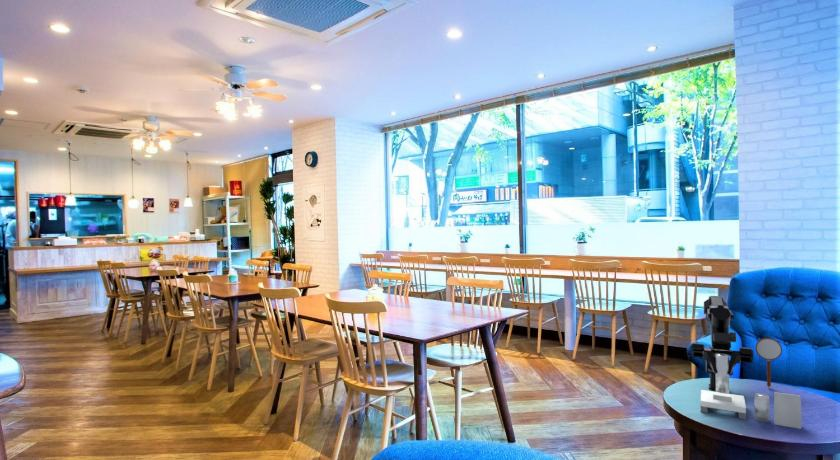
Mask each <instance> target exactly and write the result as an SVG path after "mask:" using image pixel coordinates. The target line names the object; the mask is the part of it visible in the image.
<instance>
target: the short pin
mask: <svg viewBox="0 0 840 460" xmlns="http://www.w3.org/2000/svg"><path fill="white" fill-rule="evenodd" d="M753 395H754V398H753V399H754V419H755V420H756V421H758V422H763V423H769V422H770V395H768V394H765V393H758V392H757V393H754V394H753Z"/></svg>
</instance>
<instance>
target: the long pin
mask: <svg viewBox="0 0 840 460" xmlns="http://www.w3.org/2000/svg"><path fill="white" fill-rule="evenodd" d="M729 360H730V356H729V355H728V354H724V353H716V354H715V366H716V390H715V392H720V393H727V394H730V376H729Z"/></svg>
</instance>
